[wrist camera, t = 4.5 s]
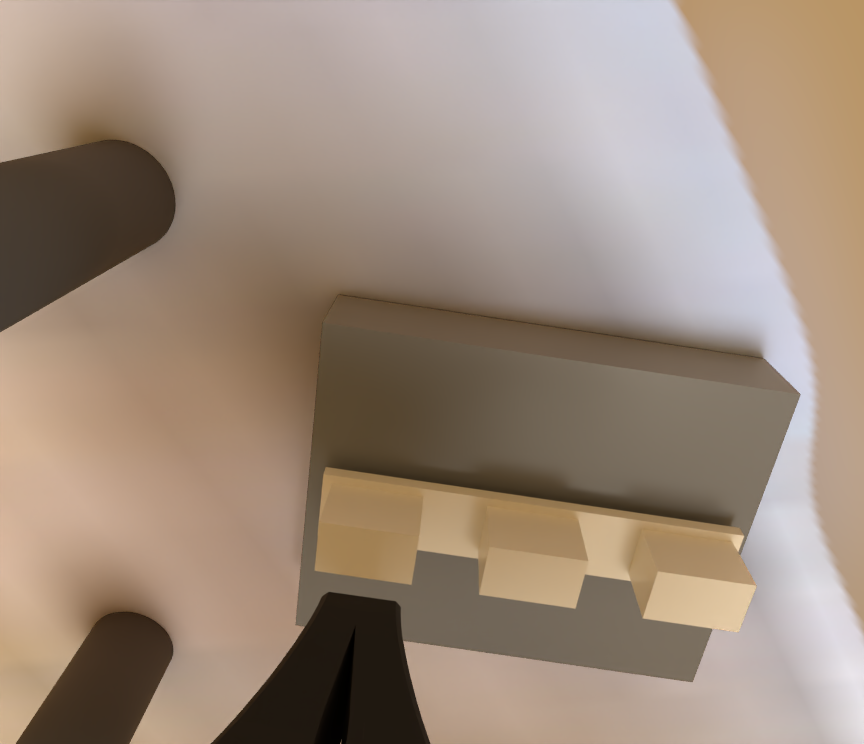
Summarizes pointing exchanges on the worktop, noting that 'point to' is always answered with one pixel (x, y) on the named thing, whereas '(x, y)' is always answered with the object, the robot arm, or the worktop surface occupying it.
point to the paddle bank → (533, 546)
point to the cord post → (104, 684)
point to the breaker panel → (538, 461)
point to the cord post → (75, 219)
